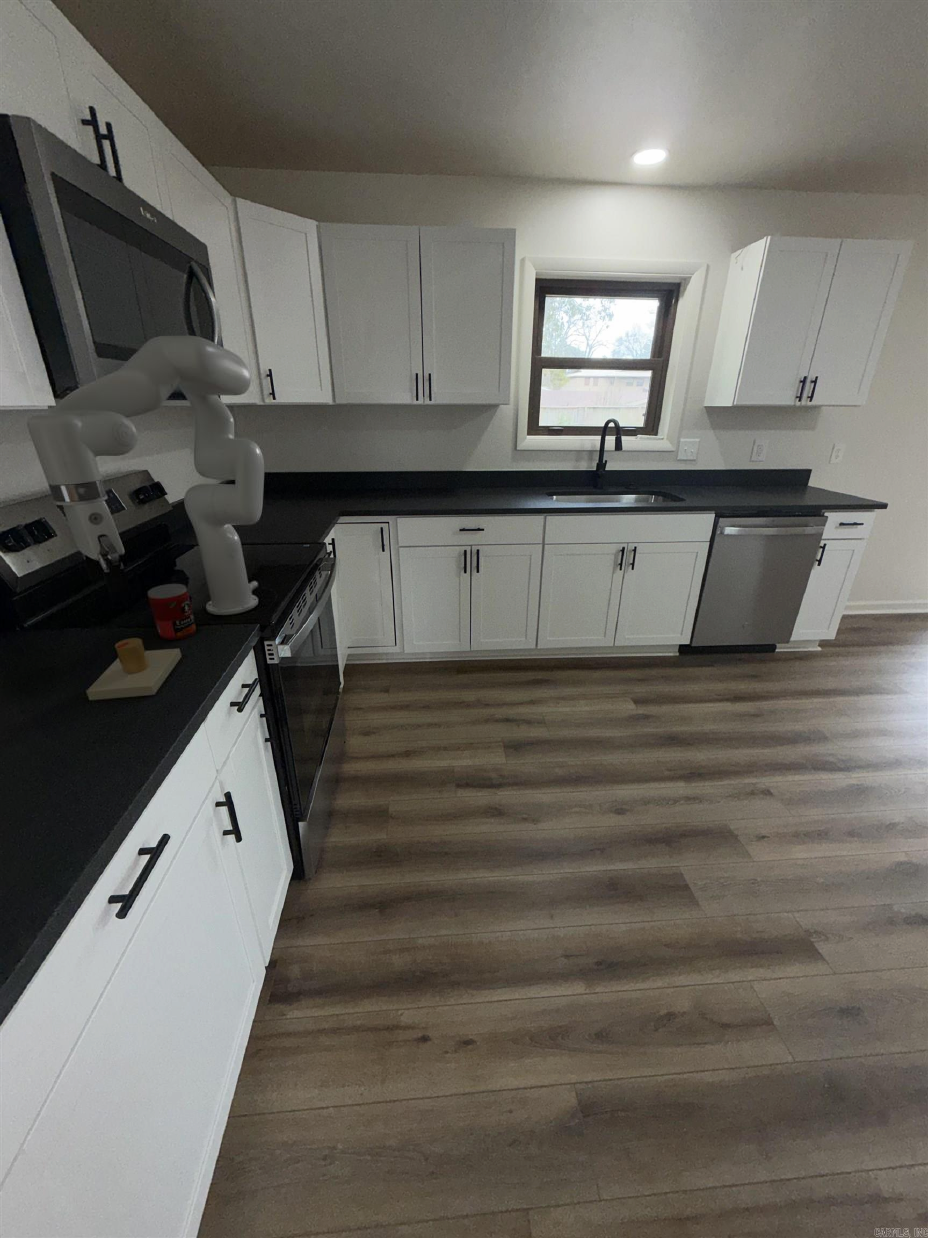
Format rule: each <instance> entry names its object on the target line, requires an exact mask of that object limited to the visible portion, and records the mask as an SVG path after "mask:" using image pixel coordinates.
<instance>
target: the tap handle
mask: <svg viewBox="0 0 928 1238" xmlns="http://www.w3.org/2000/svg"><path fill="white" fill-rule="evenodd" d="M114 648H115V651H116V654H117V658H118V657H119V660H120V663H121V666H122V669H123V672H124V673H128V674H130V673H137V672H140V671H143V670H145V669H146V668H148V667H149V663H148V659H147V656H146V653H145V651H146V649H145V646H144V643H143V640H142V638H139V637H130V638H126V639H122V640H120V641H118V642H116V643H115V645H114Z"/></svg>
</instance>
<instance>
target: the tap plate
mask: <svg viewBox="0 0 928 1238" xmlns="http://www.w3.org/2000/svg"><path fill="white" fill-rule="evenodd" d="M145 653H146V656H147V659H148V663H149V667H148V668H146V669H145V670H143V671H140V672H137V673H130V674H128V673H124V672H123V669H122V666H121V663H120V660H119V657H118V656H117V658H116V659H115V660H114V662H113V663H111V665H110V666H108V668H107V669H106V670H105V671H104V672H103V673H102V674H101V675H100V676H99V677H98V678H97V679H96V681H94V682H93V684H92V685H90V686H89V688H88V689H86V691H85V692H86V695H87V697H88V700H89V701H98V700H111V699H122V698H133V697H143V696H154V695H155V694H156V693H157V692H158V690H159V689H160V687H161V686H162V685H163V684H164V682H165V681H166V679H167V677H168V676H169V674H171V672H172V671H173V669H174V668H175V667H176V665H177V664H178V662H179V661H180V659H181V658H182V653H181V650H180V648H167V649H154V650H145Z"/></svg>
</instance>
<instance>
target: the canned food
mask: <svg viewBox="0 0 928 1238" xmlns="http://www.w3.org/2000/svg"><path fill="white" fill-rule="evenodd" d="M147 597H148V601H149V605H150V608H151V611H152V614H153V615H152V616H153V618H154V623H155V625H156V629H157V633H158V635H159V636H160V638H162V639H164V640H168V641H174V640H175V641H177V640H181V639H185V638H188V637H190V636H192V635H193V634H195V633H196V632H197V631H196V629H197V626H196V625H197V624H196V621H195V616H194V612H193V609H192V604H191V601H190V596H189V592H188V589H187V586H186V585H185V584H183V583H182V584H181V583H167V584H162V585H159V586H158V585H157V586H154V587H152V588H150V589H149V590H148V591H147Z"/></svg>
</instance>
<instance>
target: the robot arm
mask: <svg viewBox="0 0 928 1238" xmlns="http://www.w3.org/2000/svg"><path fill="white" fill-rule="evenodd" d="M251 380H252V378H251V373H250V370H249V367H248V365H247V364H246V362H245V361H244V359H242V357H241V356H240V355H238V354H236V353H235V352H233V351H231V350H229V349H227V348H225V347H222V346H221V345H219V344H217V343H215V342H213V341H211V340H209V339H206V338H204V337H201V336H197V335H160V336H155V337H152V338H150V339H149V340H147V341H146V342H145V343H144V344H143V345H142V346H141V347H140V348H139V349H138V350H137V351H136V352H135V353H134V354H133V355H132V356H130V358H129V359H128V360H127V361H126V362H125V363H124V364H123V365H121V367H120V368H119V369H117V370H116V371H113V372H111V373H109V374H106V375H104V376H101V377H100V378H98V379H95V380H93V381H91V382H89V383H87V384H85V385H83V386H80V387H79V388H76V389H75V390H73V391H71V392H70V393H69V394H67V395H66V396H64V397H63V399H61V400H60V401H59V402H58V403H57V404H56V405H55V406H54V407H53V408H52V409H51V410H50V411H49V412H48V414H39V415H38V414H37V415H32V416H31V417H29V418H28V419H27V421H26V427H27V430H28V432H29V436H30V438H31V442H32V444H33V447H34V449H35V452H36V455H37V458H38V461H39V463H40V466H41V469H42V471H43V475H44V477H45V479H46V482H47V485H48V488H49V490H50V493H51V496H52V499H53V503H54V504H55V505H57V506H62V507H63V511H64V514H65V517H66V520H67V524H68V526H69V528H70V533H71V535H72V537H73V540H74V543H75V546H76V547H77V549H78V551H79V552H80V553H81V555H82V558H83V560H84V561H83V562H84V565H85V568H86V570H87V573H88V576H89V579H90V581H93V582H96V581H101V580H104V581H105V583H106V586H107V589H108V593H110V594H116V593H120V592H124V591H127V590H130V589H131V585H130V582H129V579H128V576H127V573H126V570H125V567H124V564H123V561H122V559H121V558H120V556H123V555H124V554H125V552H126V551H125V548H124V545H123V542H122V540H121V537H120V535H119V531H118V529H117V527H116V523H115V521H114V519H113V516H112V513H111V512H110V509H109V507H108V505H107V503H106V501H105V500H108V498H109V497H108V494H107V491H106V487H105V485H104V481H103V479H102V475H101V472H100V469H99V465H98V463H97V460H96V458H97V457H120V456H124V455H127V454H129V453H130V452H132V451H133V450H134V449H135V448H136V446H137V443H138V439H139V436H138V431H137V429H136V427H135V425H134V423H133V422H132V421H131V420H130V419H129V418H132V417H138V416H142V415H144V414H148V413H150V412H153V411H156V410H158V409H160V407H162V405H164V403H165V402H166V400H167V399H168V398H169V397H170V396H171V395H172V393H173V392H174V391H175V390H176V389H177V387H179V389H180V391H182V393H183V395H184V396H185V398H186V399H187V401H188V403H189V404H190V407H191V408H192V412H193V415H194V441H193V442H194V445H193V465H194V469H195V471H196V472H197V474H198V475H200V476H201V477H203V478H205V479H211V480H225V481H226V480H228V481H232V480H233V481H235V483H234V484H231V483H230V484H229V483H227V484H226V483H198V484H195V485H192V486H190V487H189V488H188V489H187V491H186V492H185V494H184V497H183V503H184V509H185V512H186V514H187V517H188V519H189V522H191V525H192V527H193V530H194V533H195V536H196V540H197V544H198V548H199V553H200V557H201V562H202V565H203V569H204V570H203V571H204V575H205V578H206V579H205V580H206V584H207V588H208V592H209V596H210V601H208V602H207V603H206V605H205V609H206V612H207V613H209V614H212V615H215V616H231V615H237V614H241V613H245V612H248V611H250V610H252V609H254V608H255V607H256V606H258V605H259V598H258V596H256V595H254V594H253V590H255V589H256V588H258V587H259V583H258V581H256V580H253V581H251V582H249V579H248V574H247V569H246V564H245V558H244V553H243V548H242V547H243V546H242V543H241V539H240V536H239V534H238V533H237V531H236V529H235V528H234V527H233V526H251V525H255V524H256V523H258V522H259V520H260V519H261V516H262V512H263V505H264V504H263V503H264V489H265V488H264V485H265V461H264V460H265V459H264V455H263V452H262V450H261V448H260V447H259V445H258V443H256V442H254V440H250V439H247V438H237V437H236V438H235V420H234V416H233V415H232V413H231V410H229V408H228V407H227V405H226V404H225V403H224V401H223V400H222V399H221V398H220V397H219V396H242V395H245V394H246V393H247V392H248V391H249V389H250V387H251V383H252V381H251Z"/></svg>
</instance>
